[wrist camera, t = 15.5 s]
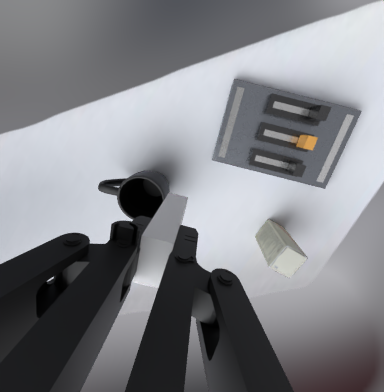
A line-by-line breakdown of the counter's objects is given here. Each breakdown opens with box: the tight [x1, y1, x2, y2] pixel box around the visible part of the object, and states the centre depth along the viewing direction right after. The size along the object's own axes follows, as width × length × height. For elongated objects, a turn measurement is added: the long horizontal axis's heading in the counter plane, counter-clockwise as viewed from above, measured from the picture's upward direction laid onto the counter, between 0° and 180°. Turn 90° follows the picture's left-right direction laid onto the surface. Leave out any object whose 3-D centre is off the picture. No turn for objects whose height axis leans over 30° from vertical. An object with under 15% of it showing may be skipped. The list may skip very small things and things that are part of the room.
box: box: [255, 219, 308, 278], centre depth 39 cm, size 5×4×11 cm
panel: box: [212, 79, 361, 189], centre depth 35 cm, size 14×22×6 cm, turn 76°
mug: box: [98, 171, 169, 220], centre depth 39 cm, size 8×12×10 cm
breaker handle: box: [296, 135, 318, 150], centre depth 34 cm, size 2×2×3 cm
